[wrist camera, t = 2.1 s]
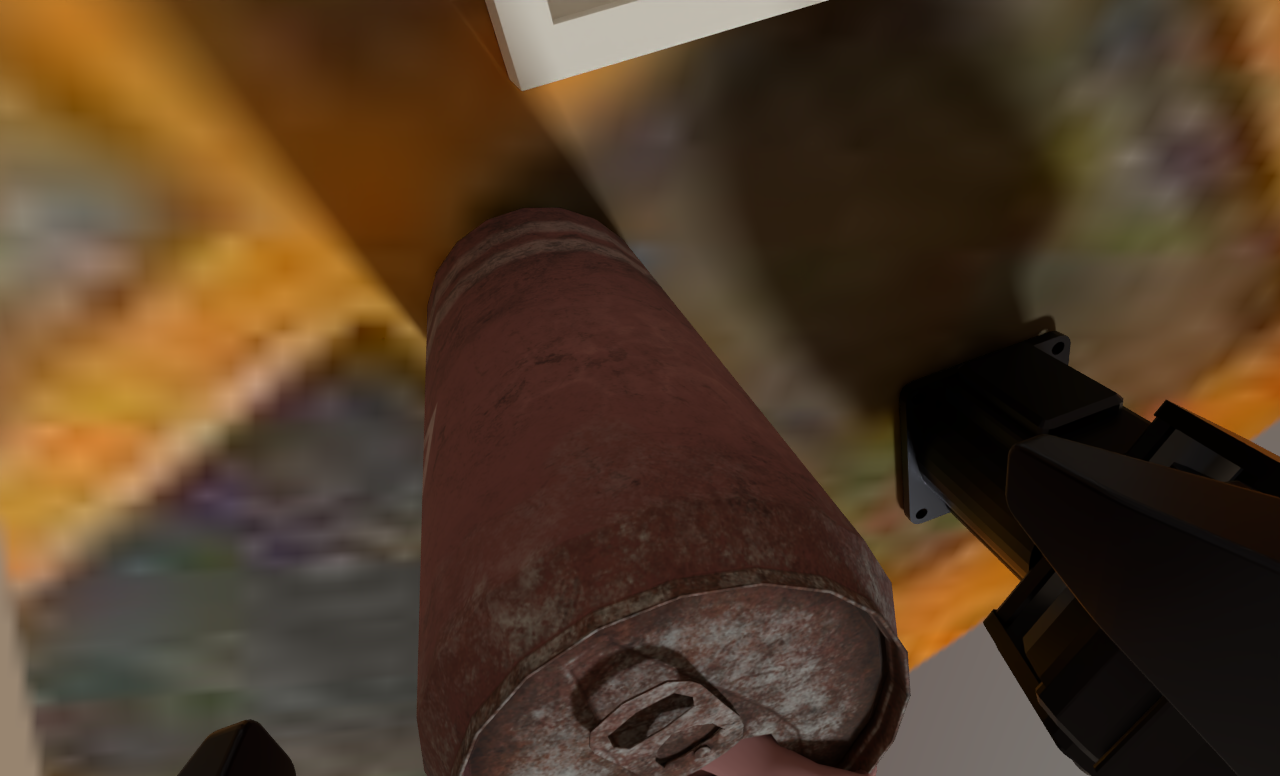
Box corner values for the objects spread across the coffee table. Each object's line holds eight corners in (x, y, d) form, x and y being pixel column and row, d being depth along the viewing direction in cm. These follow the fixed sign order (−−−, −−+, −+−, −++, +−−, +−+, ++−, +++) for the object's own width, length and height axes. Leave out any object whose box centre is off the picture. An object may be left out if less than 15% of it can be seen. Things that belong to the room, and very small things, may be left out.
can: (609, 422, 22) (812, 909, 10) (404, 377, 20) (356, 949, 8) (683, 245, 20) (1055, 602, 8) (463, 169, 17) (522, 522, 5)
